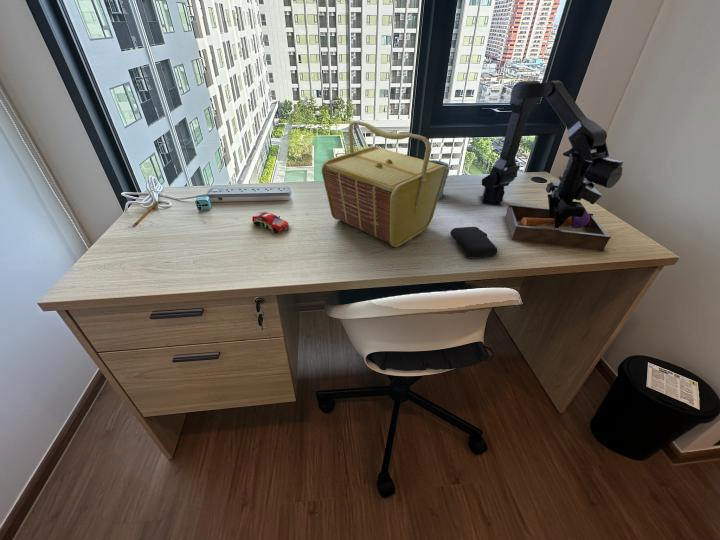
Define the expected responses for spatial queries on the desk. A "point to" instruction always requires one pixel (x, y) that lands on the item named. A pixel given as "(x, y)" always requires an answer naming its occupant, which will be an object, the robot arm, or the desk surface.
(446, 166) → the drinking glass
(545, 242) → the wooden tray
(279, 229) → the race car
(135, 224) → the pencil
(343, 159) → the picnic basket
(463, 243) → the carrying case
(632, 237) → the desk surface
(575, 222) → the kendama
